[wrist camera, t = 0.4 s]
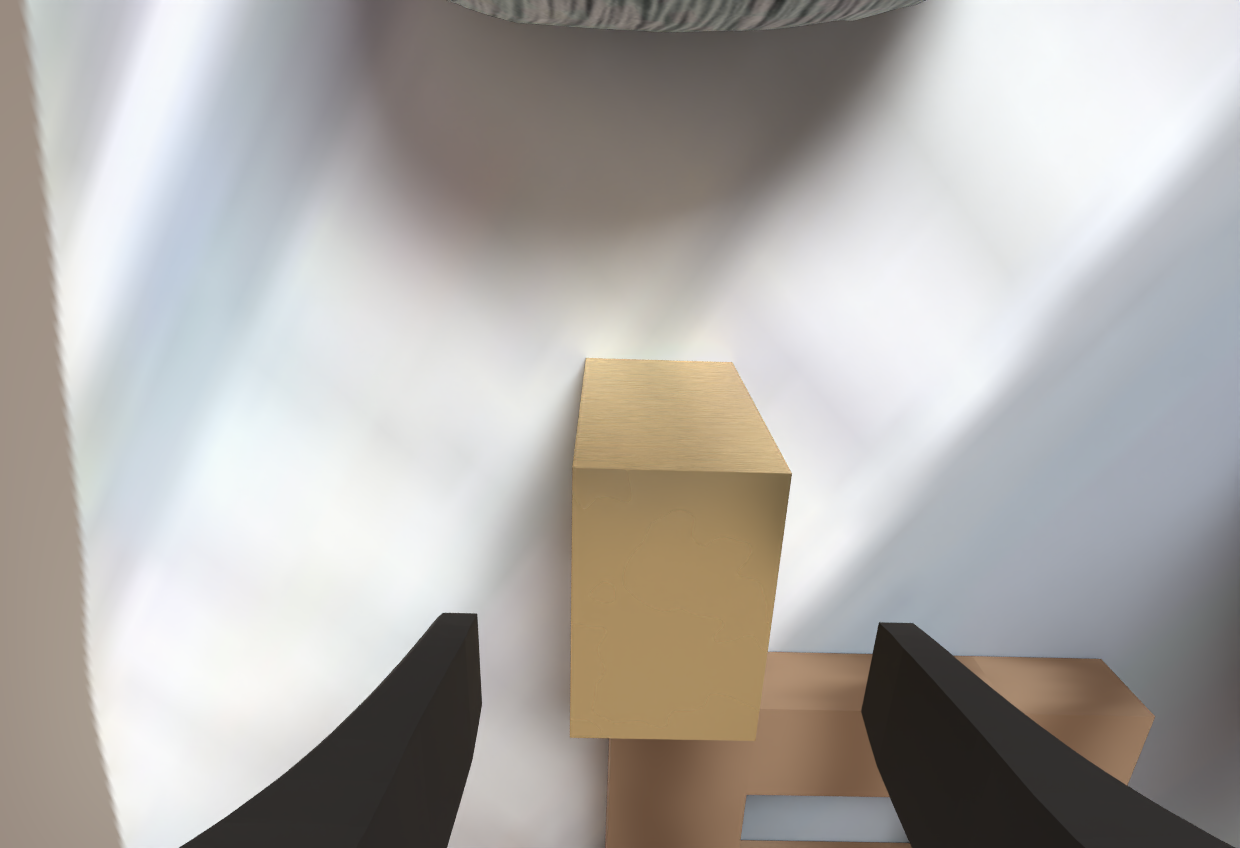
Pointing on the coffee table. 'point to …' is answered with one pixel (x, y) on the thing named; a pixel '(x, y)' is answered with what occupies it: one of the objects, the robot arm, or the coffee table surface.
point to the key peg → (672, 552)
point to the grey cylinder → (682, 13)
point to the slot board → (840, 746)
